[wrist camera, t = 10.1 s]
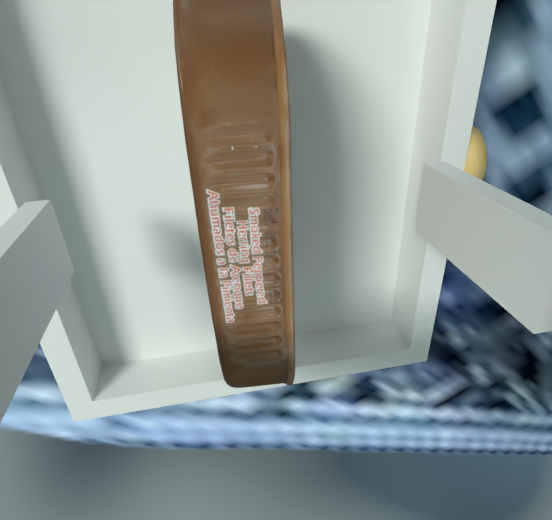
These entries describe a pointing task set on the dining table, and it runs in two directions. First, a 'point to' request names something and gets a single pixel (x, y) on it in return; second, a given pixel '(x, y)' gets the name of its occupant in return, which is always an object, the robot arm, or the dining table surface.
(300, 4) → the white square dish
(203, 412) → the dining table surface
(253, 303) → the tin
